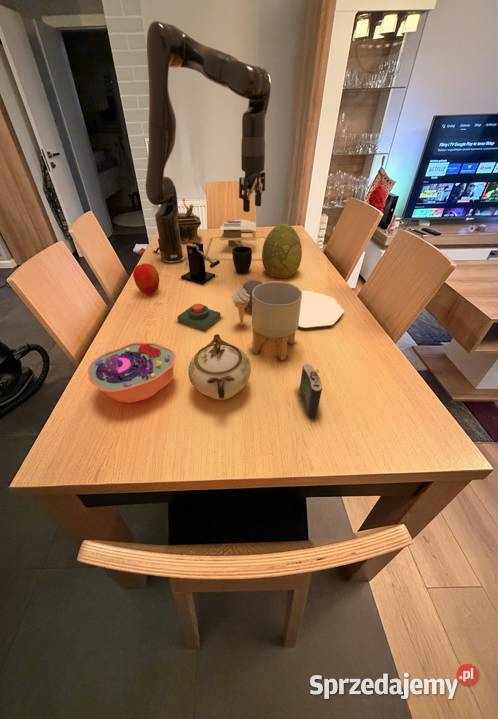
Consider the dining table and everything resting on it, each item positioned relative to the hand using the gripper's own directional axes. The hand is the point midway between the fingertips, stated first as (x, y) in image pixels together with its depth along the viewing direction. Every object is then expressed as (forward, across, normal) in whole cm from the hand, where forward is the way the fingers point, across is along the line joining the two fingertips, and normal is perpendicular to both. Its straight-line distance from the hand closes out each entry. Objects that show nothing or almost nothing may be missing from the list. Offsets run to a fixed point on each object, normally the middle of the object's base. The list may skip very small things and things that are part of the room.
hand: (252, 208), depth 106 cm
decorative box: (+28, -24, -54) cm, 66 cm away
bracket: (+27, +9, -20) cm, 35 cm away
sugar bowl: (+27, +58, +23) cm, 68 cm away
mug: (+27, -7, -8) cm, 30 cm away
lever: (+18, +9, -17) cm, 26 cm away
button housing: (+27, +35, -1) cm, 44 cm away
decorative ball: (+27, +19, +12) cm, 35 cm away
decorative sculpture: (+27, -12, +8) cm, 31 cm away
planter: (+27, +36, +27) cm, 53 cm away
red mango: (+28, +29, -29) cm, 49 cm away
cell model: (+27, +68, +5) cm, 73 cm away
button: (+24, +35, -1) cm, 42 cm away
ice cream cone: (+27, +31, +13) cm, 43 cm away
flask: (+27, +52, +44) cm, 73 cm away
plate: (+27, +12, +28) cm, 41 cm away
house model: (+28, -29, -23) cm, 46 cm away
